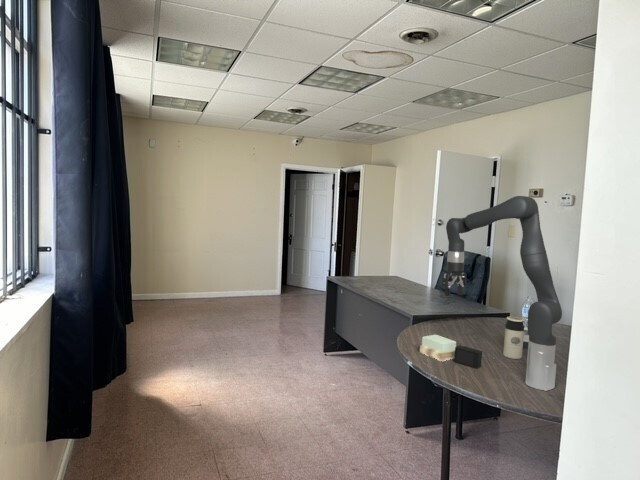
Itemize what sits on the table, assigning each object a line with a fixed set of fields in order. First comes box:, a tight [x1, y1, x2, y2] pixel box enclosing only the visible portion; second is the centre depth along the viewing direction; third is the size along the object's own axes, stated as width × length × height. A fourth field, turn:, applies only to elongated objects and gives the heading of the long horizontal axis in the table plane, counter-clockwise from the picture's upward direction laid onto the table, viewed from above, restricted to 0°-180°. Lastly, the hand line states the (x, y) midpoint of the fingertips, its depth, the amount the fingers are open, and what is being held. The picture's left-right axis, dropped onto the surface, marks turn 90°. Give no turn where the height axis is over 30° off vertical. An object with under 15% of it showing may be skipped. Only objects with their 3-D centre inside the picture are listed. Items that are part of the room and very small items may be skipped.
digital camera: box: [453, 345, 483, 370], centre depth 183 cm, size 10×5×7 cm, turn 49°
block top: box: [421, 334, 457, 353], centre depth 193 cm, size 12×9×4 cm
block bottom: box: [419, 344, 455, 362], centre depth 193 cm, size 13×11×4 cm
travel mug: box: [502, 316, 525, 360], centre depth 195 cm, size 8×8×18 cm
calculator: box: [523, 334, 529, 350], centre depth 216 cm, size 11×4×15 cm
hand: (453, 295), depth 196 cm, fingers open, 8 cm apart
